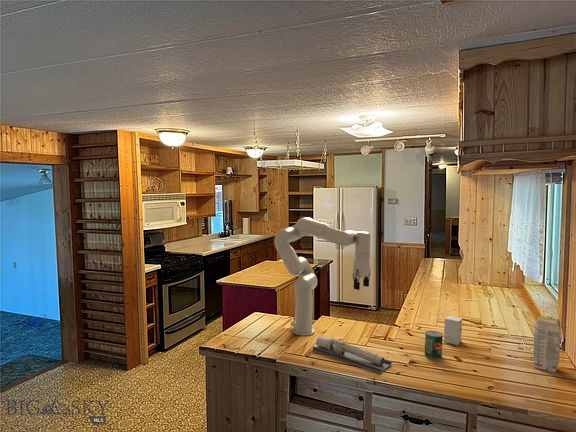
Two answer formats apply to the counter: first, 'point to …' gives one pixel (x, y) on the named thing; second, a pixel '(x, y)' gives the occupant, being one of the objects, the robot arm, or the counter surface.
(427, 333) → the canned tomato
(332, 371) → the counter surface
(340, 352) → the white electric toothbrush
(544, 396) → the counter surface
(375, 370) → the pipe jig board
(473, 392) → the counter surface
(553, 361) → the juice carton
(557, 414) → the counter surface
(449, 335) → the supplement box
